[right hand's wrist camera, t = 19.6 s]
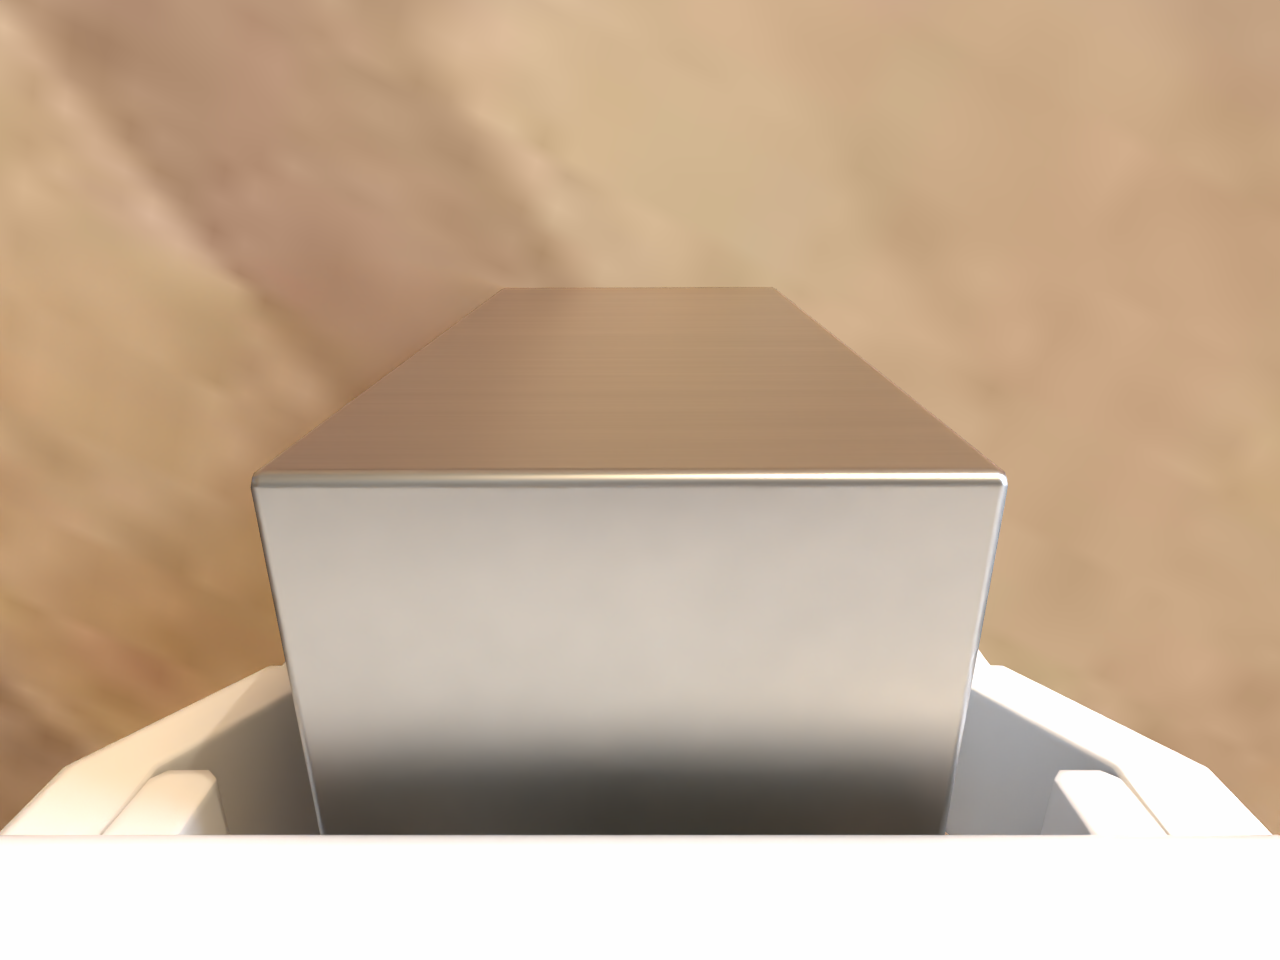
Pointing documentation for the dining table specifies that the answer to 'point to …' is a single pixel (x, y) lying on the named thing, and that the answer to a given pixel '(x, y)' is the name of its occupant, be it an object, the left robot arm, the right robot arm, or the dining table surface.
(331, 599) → the block
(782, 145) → the dining table surface
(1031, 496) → the dining table surface
